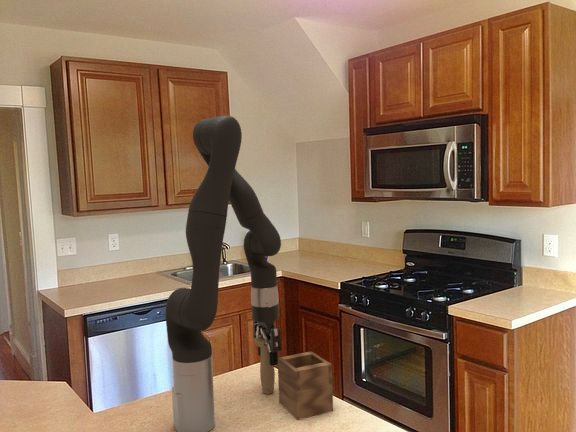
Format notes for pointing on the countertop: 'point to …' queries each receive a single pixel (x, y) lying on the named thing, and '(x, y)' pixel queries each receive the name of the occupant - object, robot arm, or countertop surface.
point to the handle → (265, 367)
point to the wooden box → (305, 384)
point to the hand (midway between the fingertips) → (267, 359)
